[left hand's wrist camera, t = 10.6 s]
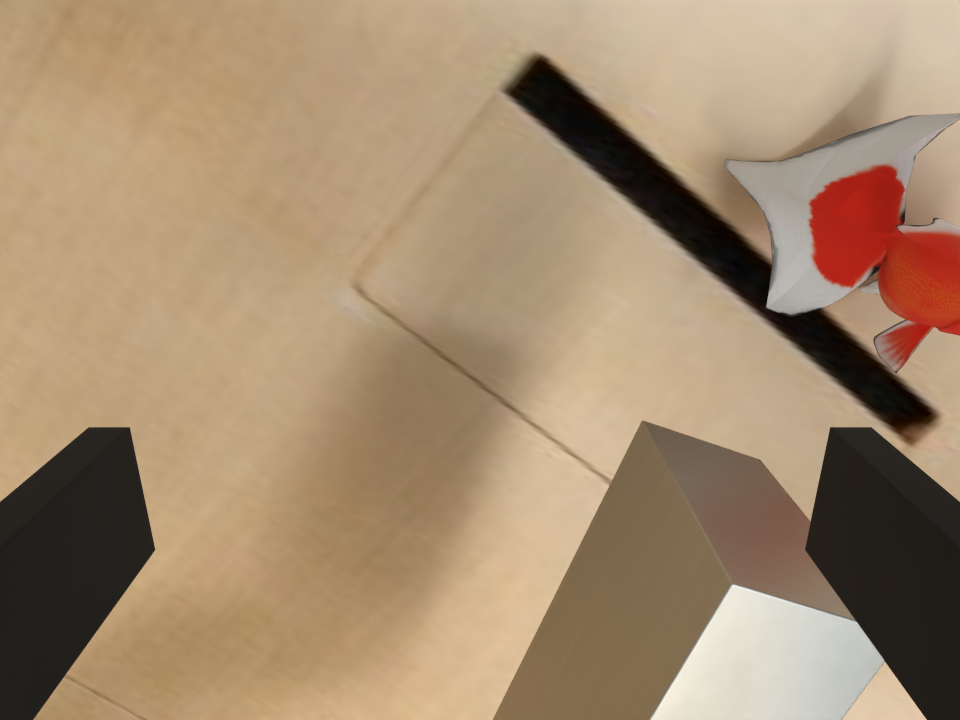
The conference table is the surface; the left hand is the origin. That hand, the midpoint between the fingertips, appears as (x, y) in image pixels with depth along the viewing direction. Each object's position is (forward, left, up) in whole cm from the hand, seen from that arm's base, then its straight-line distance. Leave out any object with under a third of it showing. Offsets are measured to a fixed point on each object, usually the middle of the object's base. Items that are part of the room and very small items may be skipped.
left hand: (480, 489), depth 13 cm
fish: (-18, +5, -25) cm, 31 cm away
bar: (0, +17, -11) cm, 21 cm away
